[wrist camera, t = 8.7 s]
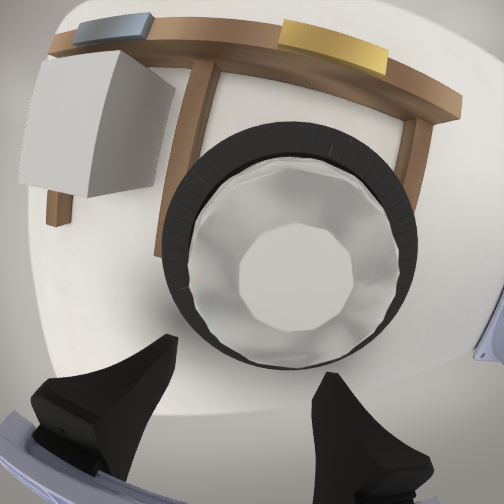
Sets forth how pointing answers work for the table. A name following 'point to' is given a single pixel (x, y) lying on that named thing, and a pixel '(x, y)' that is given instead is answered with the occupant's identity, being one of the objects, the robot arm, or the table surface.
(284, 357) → the push button
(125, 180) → the grey plug block
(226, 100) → the table surface
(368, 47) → the wooden bench frame
